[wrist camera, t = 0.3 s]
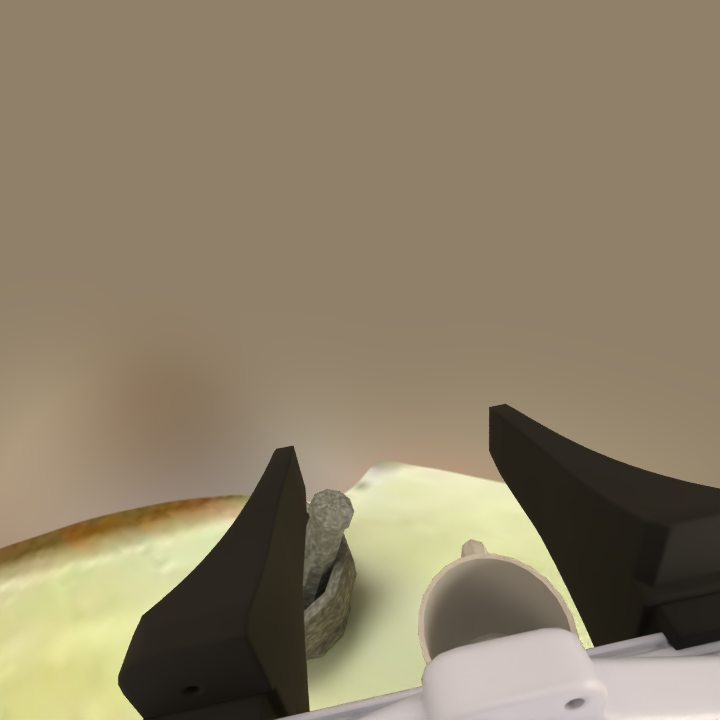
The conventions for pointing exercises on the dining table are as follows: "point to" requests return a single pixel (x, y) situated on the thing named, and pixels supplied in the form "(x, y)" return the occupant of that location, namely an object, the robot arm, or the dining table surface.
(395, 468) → the dining table surface
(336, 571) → the mortar and pestle
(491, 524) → the dining table surface
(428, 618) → the cup
